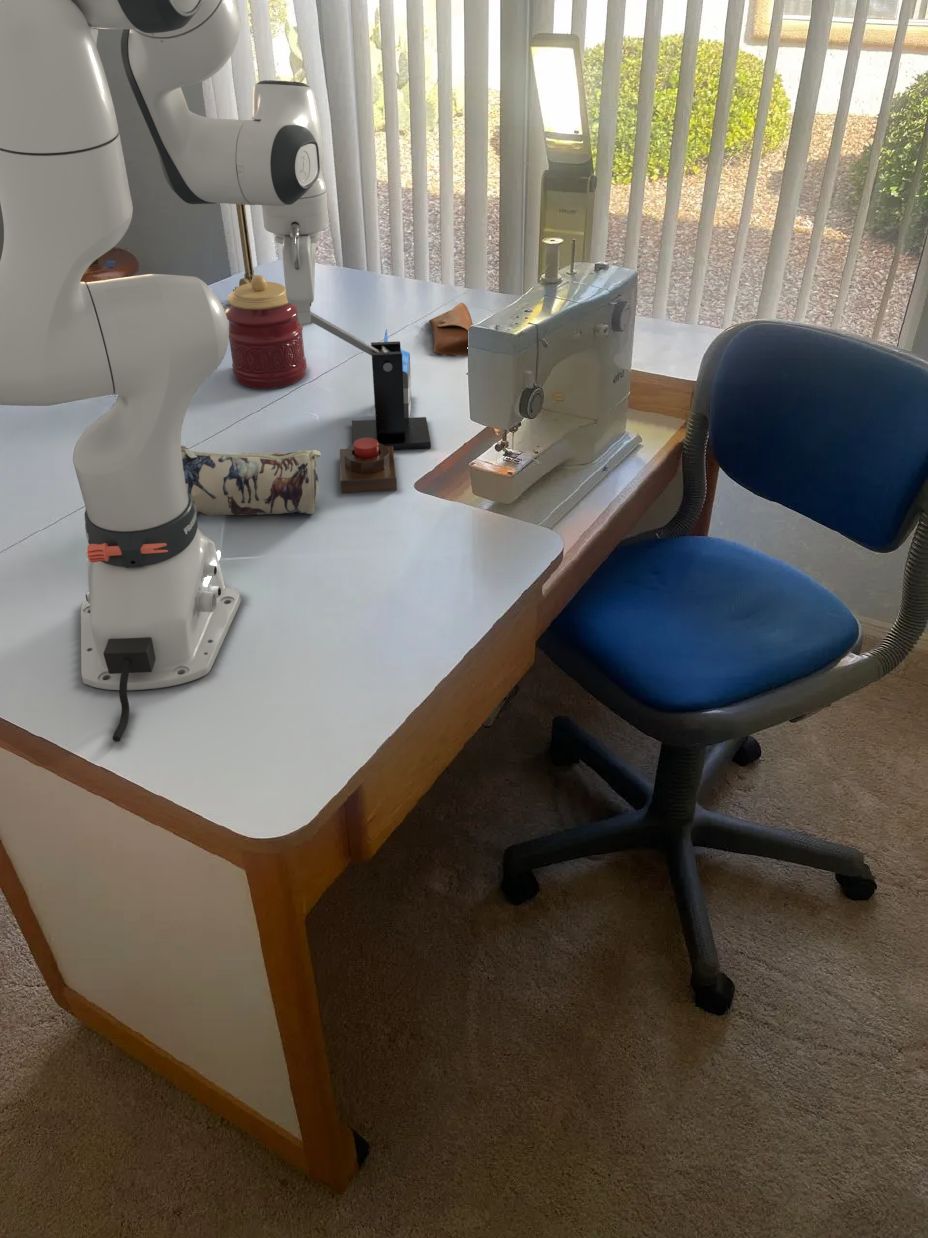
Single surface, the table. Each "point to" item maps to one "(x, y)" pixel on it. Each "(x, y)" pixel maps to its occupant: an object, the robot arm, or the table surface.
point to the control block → (367, 471)
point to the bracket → (391, 405)
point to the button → (366, 448)
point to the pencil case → (251, 482)
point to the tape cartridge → (405, 380)
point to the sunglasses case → (452, 331)
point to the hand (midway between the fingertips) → (305, 313)
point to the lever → (345, 335)
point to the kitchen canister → (265, 336)
